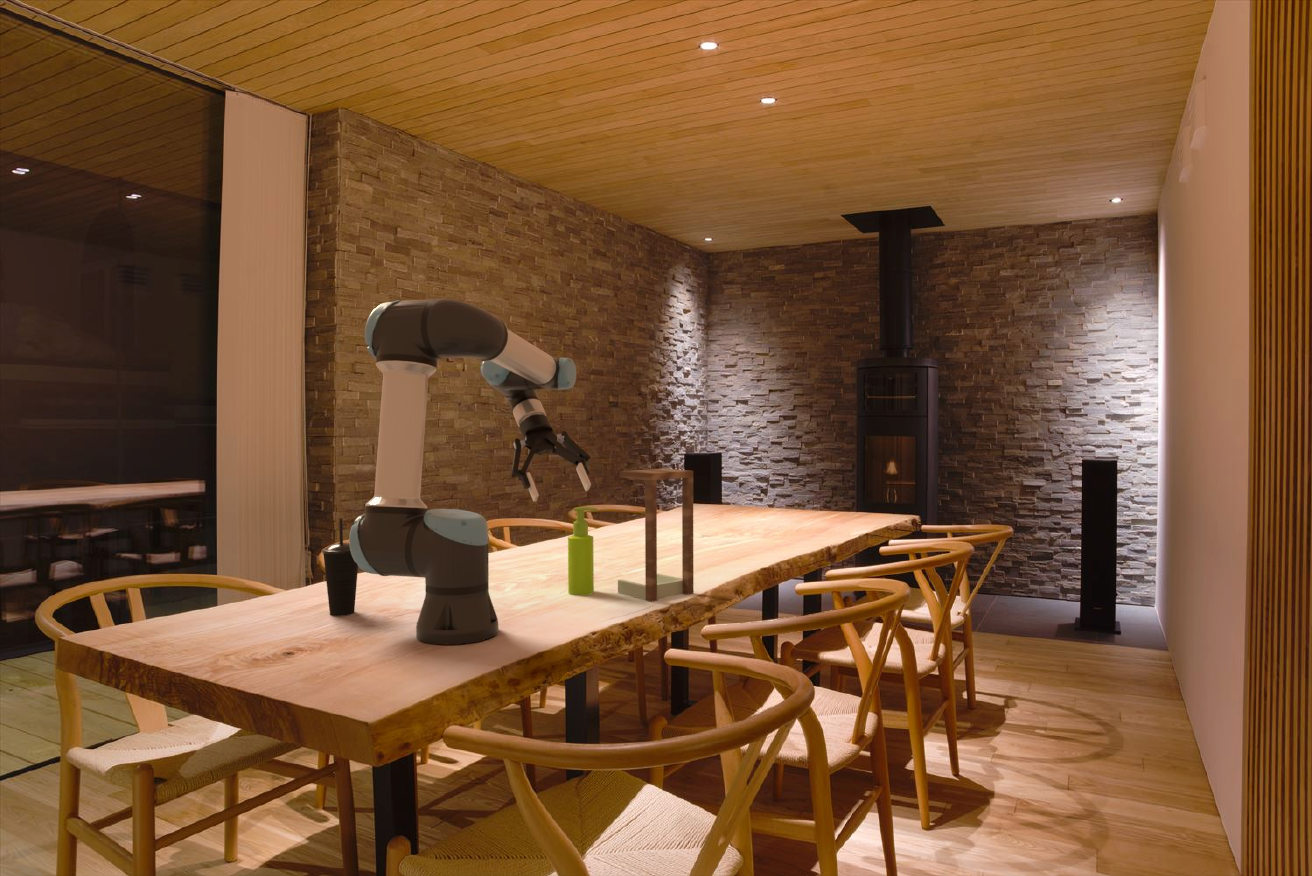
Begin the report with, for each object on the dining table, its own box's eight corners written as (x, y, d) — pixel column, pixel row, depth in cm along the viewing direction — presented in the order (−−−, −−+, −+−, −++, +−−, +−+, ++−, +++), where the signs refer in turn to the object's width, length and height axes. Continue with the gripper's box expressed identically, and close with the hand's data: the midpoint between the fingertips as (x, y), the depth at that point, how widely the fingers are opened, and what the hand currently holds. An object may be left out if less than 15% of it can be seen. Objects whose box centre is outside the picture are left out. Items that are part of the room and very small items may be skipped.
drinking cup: (348, 618, 173) (347, 521, 172) (315, 616, 175) (313, 520, 174) (368, 609, 181) (367, 516, 180) (336, 608, 182) (334, 515, 182)
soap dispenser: (596, 595, 194) (596, 508, 194) (566, 595, 194) (566, 508, 194) (599, 590, 200) (598, 505, 200) (570, 590, 200) (569, 505, 200)
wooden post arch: (650, 601, 187) (650, 473, 187) (620, 594, 195) (620, 471, 195) (693, 593, 196) (693, 470, 195) (662, 586, 204) (662, 468, 203)
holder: (646, 600, 189) (646, 586, 189) (617, 593, 197) (617, 580, 197) (687, 592, 197) (687, 579, 197) (658, 585, 205) (658, 573, 205)
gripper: (574, 423, 218) (604, 491, 209) (482, 438, 206) (510, 511, 197) (581, 406, 213) (613, 475, 204) (487, 420, 200) (516, 494, 191)
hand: (562, 493), depth 200 cm, fingers open, 13 cm apart
